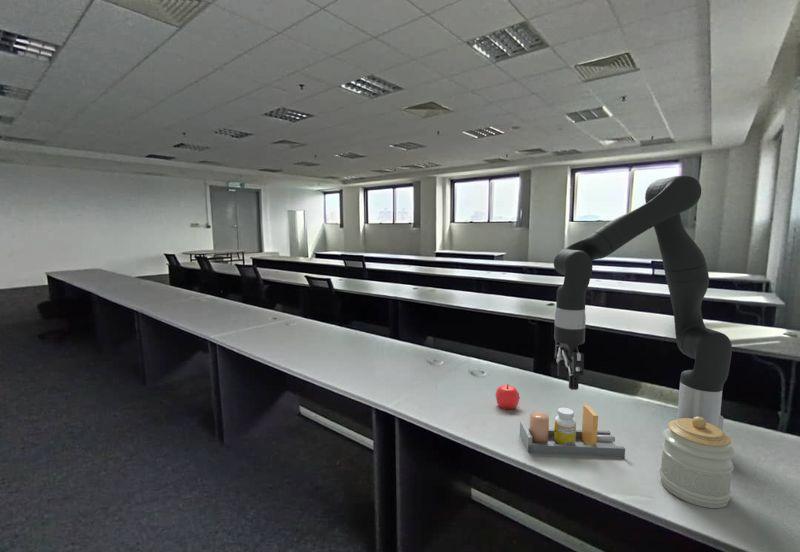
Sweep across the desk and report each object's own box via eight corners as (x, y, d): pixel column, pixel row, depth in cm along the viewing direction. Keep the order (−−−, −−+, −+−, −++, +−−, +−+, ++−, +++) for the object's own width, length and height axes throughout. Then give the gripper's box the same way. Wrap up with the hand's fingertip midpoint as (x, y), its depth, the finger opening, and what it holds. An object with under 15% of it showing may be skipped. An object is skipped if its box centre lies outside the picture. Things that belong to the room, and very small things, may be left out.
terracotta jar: (544, 438, 108) (545, 412, 107) (550, 448, 103) (551, 420, 102) (526, 438, 108) (527, 411, 107) (531, 448, 103) (532, 420, 102)
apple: (490, 404, 132) (490, 382, 131) (508, 400, 135) (509, 378, 134) (505, 414, 124) (505, 390, 124) (524, 409, 128) (525, 386, 127)
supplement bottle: (557, 437, 109) (558, 404, 108) (577, 443, 105) (579, 410, 104) (551, 445, 105) (552, 411, 104) (571, 452, 101) (573, 417, 100)
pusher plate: (607, 439, 107) (609, 405, 106) (619, 452, 101) (621, 416, 100) (581, 438, 108) (583, 404, 107) (591, 451, 101) (593, 415, 100)
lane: (608, 440, 109) (609, 423, 108) (624, 458, 100) (625, 440, 99) (519, 437, 110) (520, 420, 110) (527, 454, 101) (528, 437, 101)
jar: (668, 501, 84) (674, 425, 82) (652, 467, 96) (658, 401, 94) (741, 516, 79) (750, 437, 77) (715, 479, 91) (722, 409, 89)
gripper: (596, 331, 94) (593, 394, 96) (573, 318, 108) (571, 373, 110) (565, 331, 94) (562, 393, 96) (546, 318, 109) (545, 373, 110)
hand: (567, 382), depth 103 cm, fingers open, 8 cm apart
